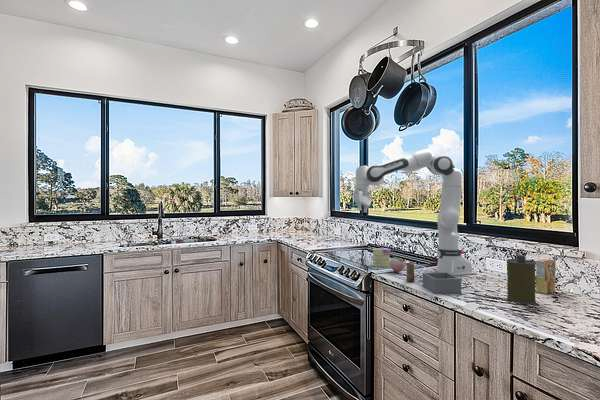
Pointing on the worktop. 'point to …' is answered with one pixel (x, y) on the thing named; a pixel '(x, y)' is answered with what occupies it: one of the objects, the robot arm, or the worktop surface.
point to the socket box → (442, 283)
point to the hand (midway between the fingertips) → (362, 211)
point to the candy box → (545, 276)
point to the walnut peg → (410, 272)
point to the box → (381, 257)
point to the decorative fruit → (397, 264)
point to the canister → (521, 280)
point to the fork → (409, 262)
